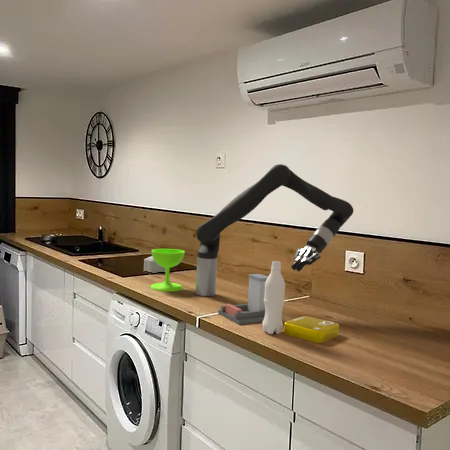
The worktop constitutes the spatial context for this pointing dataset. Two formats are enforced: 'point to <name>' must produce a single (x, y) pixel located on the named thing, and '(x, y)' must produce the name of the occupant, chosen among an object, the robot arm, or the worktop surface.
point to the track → (241, 314)
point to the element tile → (311, 329)
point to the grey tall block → (256, 292)
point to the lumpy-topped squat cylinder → (152, 266)
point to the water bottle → (274, 300)
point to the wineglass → (167, 267)
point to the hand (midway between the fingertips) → (295, 269)
